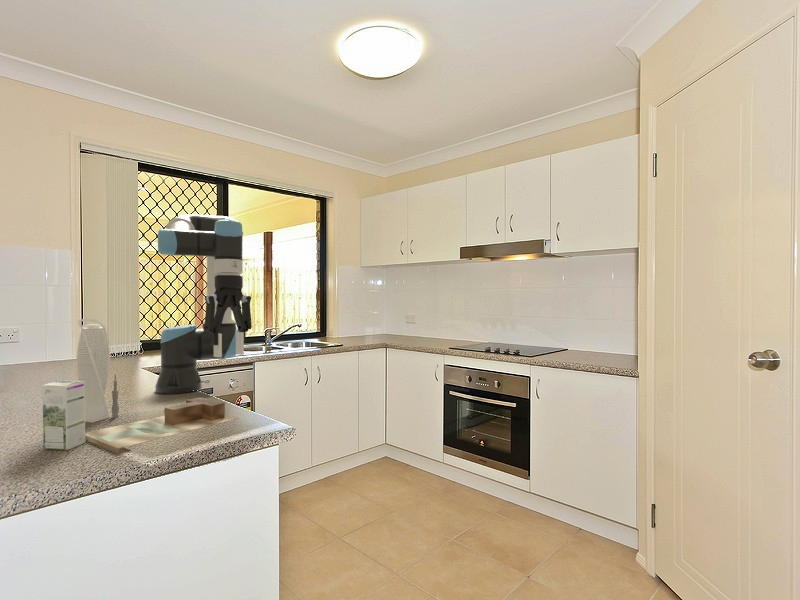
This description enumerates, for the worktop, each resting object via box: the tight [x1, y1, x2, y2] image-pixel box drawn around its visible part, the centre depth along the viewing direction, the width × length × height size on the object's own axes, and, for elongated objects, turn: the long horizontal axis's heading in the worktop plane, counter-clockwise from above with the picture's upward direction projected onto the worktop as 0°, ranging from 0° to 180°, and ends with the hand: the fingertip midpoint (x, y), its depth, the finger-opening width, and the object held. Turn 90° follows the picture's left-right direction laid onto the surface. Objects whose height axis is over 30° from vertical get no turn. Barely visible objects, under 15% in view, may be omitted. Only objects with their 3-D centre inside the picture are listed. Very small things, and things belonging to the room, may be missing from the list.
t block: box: [164, 396, 226, 426], centre depth 121 cm, size 12×12×4 cm
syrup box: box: [41, 380, 87, 451], centre depth 102 cm, size 6×6×14 cm
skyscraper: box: [75, 318, 120, 424], centre depth 121 cm, size 8×8×28 cm
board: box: [85, 414, 239, 455], centre depth 115 cm, size 30×19×1 cm, turn 145°
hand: (228, 355), depth 130 cm, fingers open, 6 cm apart
